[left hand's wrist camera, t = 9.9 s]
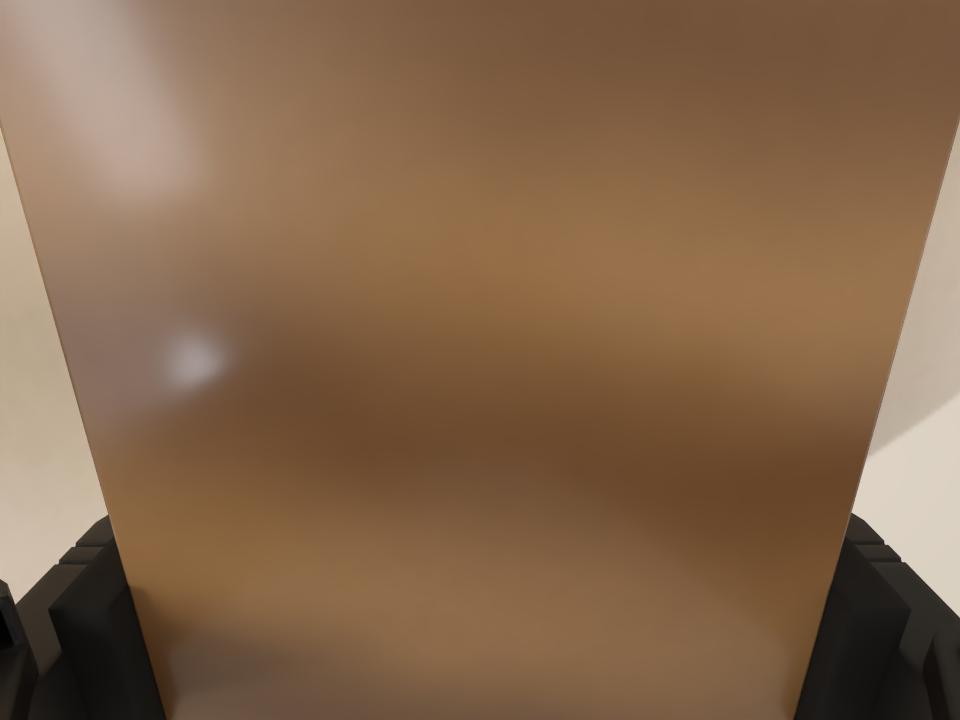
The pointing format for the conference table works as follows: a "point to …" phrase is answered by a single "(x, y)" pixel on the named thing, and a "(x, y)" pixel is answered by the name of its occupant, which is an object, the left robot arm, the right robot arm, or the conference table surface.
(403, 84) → the striped wooden beam
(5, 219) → the conference table surface
